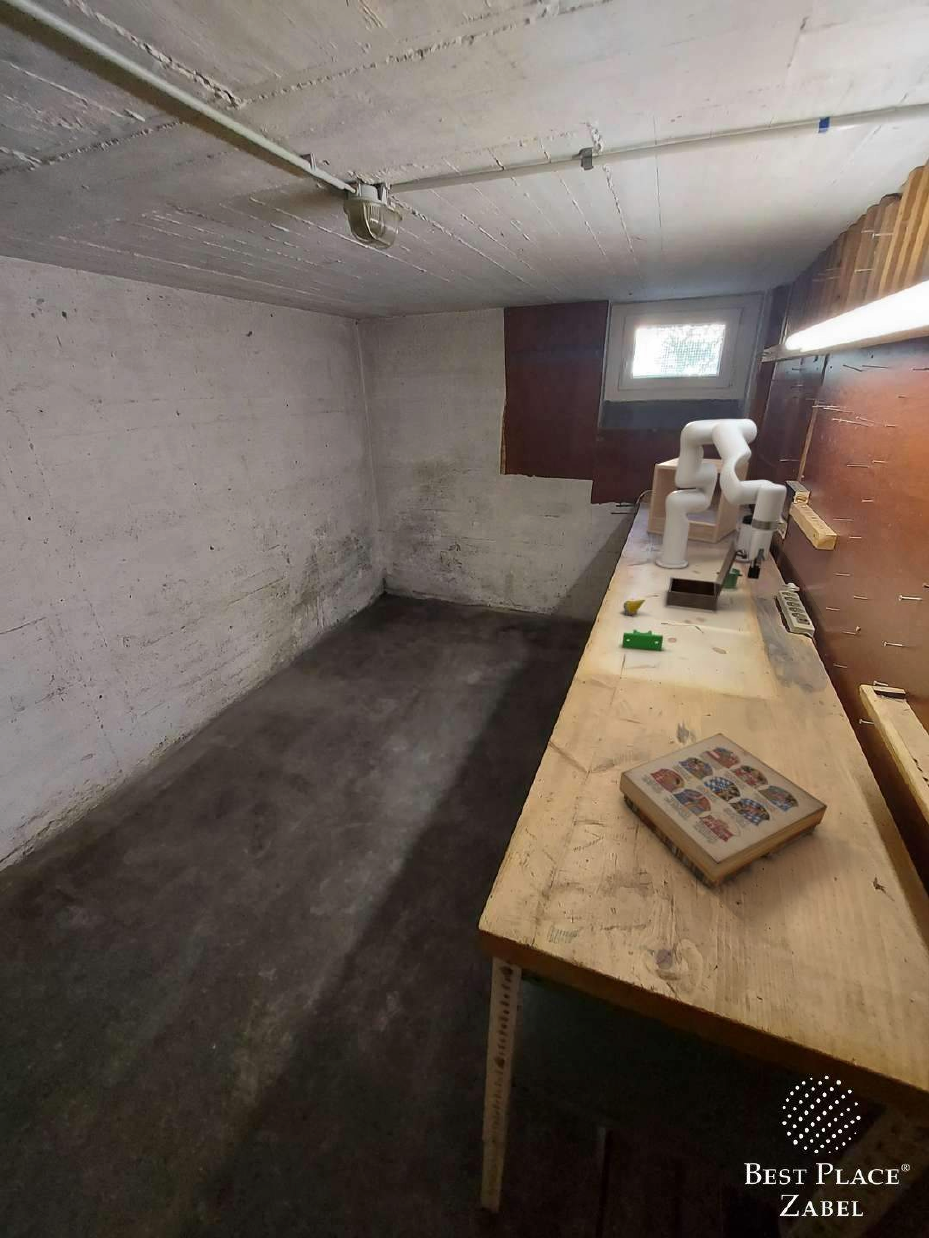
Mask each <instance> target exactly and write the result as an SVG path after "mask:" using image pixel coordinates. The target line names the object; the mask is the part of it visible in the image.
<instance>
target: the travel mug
mask: <svg viewBox="0 0 929 1238" xmlns="http://www.w3.org/2000/svg"><path fill="white" fill-rule="evenodd" d="M753 515H754V514H746V515H744V516H743V517H742V521H741V526H740V531H739V535H738V539H737V547H738V549H739V550H742V549H745V550H746V553H747V551H748V547H749V543H750V539H751V535H752V532H753V529H751V524H752V519H753ZM738 554H741V552H738ZM734 562H736V563H740V564H749V563H751V560H749V558H748V554H747V558H746V559H742V557H739V556H736V558H735V560H734Z"/></svg>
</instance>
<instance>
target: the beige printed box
mask: <svg viewBox="0 0 929 1238" xmlns="http://www.w3.org/2000/svg"><path fill="white" fill-rule="evenodd" d="M618 790H619V791H621V793H622V794H624V795H623V801H624V802H625V804H627V806H628V807H629V808H630V809H631V810H632V812H634V813H636V815H637V817H638V818H639V820H641V821H643V822H644V823H645V824H646V825H647V826H648V827H649V828H650V829H651V830H652V831H653V832H654V833H655V835H656V836H657V837H658V838H659V839H660V840H661V841H662V842H663V843H664V844H665V845H667V848H668V850H669V851H670V852H671V853H673V855H675V856H676V858H678V860H680V861H681V862H682V863H683V864H684V866H686V867H687V868H688V869H690V871H691V872H692V874H693V875H694V876H695V877H696V878H698V880H700V881H701V882H702V883H703V884H705V885H707V887H709V888H710V889H711V890H712V889H715V888H717V887H718V886H719V887H720V885H721V884H723V883H727V881H730V880H731V879H733V878H734V877H737V876H738V875H740V874H741V873H743V872H745V871H747V870H748V867H749V865H750V863H752V862H753V861H755V860H757V859H759V858H760V857H762V856H764V857H767V858H770V857H771V856H773V855H774V854H777V853H778V852H779V851H781V850H783V849H785V848H786V847H787V846H790V845H792V844H793V843H795V842H796V841H799V840H800V839H802V838H803V837H806V836H807V835H809V834H811V833H812V832H814V831H815V828H816V827H817V826H819V825H820V824H821V823H822V820H823V818H824V816H825V813H826V811H827V808H828V805H827V804H825V803H824V802H822V801H821V800H819V799H817V798H816V797H815V796H813V795H812V794H811V793H809V792H807V791H806V790H805V789H803V788H802V787H800V786H799V785H798V784H796V783H794V782H793V781H792V780H790V779H789V778H787V777H785V776H784V775H783V774H781V773H779V772H778V771H777V770H775V769H774V768H772V767H771V766H769V765H768V764H767V763H765V762H764V761H762V760H761V759H760V758H758V757H757V756H755V755H753V754H752V753H750V752H749V751H748V750H747V749H744V748H743V747H742V746H740V745H739V744H737V742H734V741H733V740H731V739H730V738H729V737H727V736H725V735H724V734H722V732H720V733H716V734H713V735H712V736H709V737H706V738H704V739H703V738H702V739H700V740H699V741H698V740H697V741H696V742H694V743H691V744H689V745H686V746H684V747H681V748H678V749H676V750H673V751H671V752H669V753H666V754H664V755H661V756H658V757H656V758H653V759H651V760H648V761H647V762H645V763H642V764H640V765H637V766H635V767H632V768H630V769H627V770H625V771H622V772H620V780H619V788H618ZM624 799H625V800H624Z"/></svg>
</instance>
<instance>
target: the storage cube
mask: <svg viewBox="0 0 929 1238" xmlns="http://www.w3.org/2000/svg"><path fill="white" fill-rule="evenodd" d="M678 460H679V457H677V458H673V459H670V460H667V461H664V462H661V463H658V464H655V465H654V472H653V473H654V474H653V481H652V490H651V495H650V497H651V499H650V505H649V506H650V507H649V513H648V520H647V530H646V532H647V533H649V534H650V533H651V534H655V535H661V536H662V535H663V536H664V529H665V521H666V498H667V496H668V495H669V494H670V493H672V492H674V491H678V488H679V487H678V486H676V484H675V475H676V470H677V465H678ZM702 462H711V463H713V464H714V465H715V466H716V468H717V474H721V470H722V468H723V466H724V462H723V460H722V459H716V458H703V459H702ZM749 464H750V462H749V460H748V461H747V462H746V463H745V464H743V465H742V466H740V467H738V468H736V469H734V470H735V474H736V476H737V478H738V480H739V481H746V478H747V474H748V469H749ZM740 508H741V505H733V504H731V503H729V502H728V500H727V499H726V497H725V496H724V493H723V491H722V490H721V492H720V498H719V502H718V509H717V514H716V519H715V523H712V522H704V521H698V520H690V519H688V521H689V533H688V539H687V540H694V541H698V542H699V541H700V542H705V543H712V544H715V543H717V542H719V541H720V540H721V539H723V538H724V537H726V536H727V535H729V534H730V533H731V532H733V531H735V530H736V528H737V522H738V519H739V512H740Z"/></svg>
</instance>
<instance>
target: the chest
mask: <svg viewBox="0 0 929 1238" xmlns="http://www.w3.org/2000/svg"><path fill="white" fill-rule="evenodd" d="M718 597H719V596H717V593H716V581H707V580H701V579H700V580H697V579H689V578H678V577H670V579H669V585H668V591H667V597H666V603H665V605H666V606H671V607H672V606H673V607H679V608H688V609H696V610H704V611H712V612H715V611H716V607H717V601H718Z"/></svg>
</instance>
